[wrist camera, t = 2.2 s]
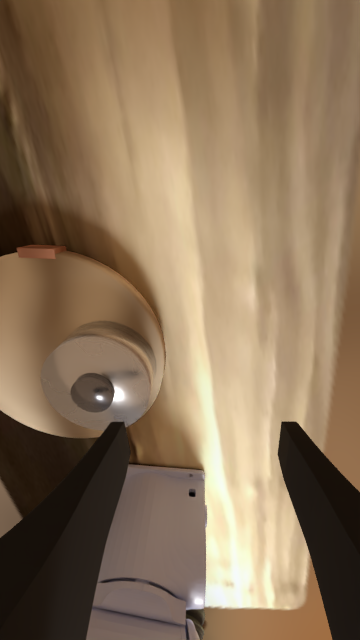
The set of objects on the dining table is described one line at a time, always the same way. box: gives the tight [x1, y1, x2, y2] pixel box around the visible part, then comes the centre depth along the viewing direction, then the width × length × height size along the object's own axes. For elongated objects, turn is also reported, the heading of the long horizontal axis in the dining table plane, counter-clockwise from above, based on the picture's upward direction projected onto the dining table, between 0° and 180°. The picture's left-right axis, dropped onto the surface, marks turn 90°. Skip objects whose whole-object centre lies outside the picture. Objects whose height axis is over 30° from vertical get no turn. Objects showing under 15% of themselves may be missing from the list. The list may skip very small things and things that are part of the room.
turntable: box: [0, 245, 166, 438], centre depth 20 cm, size 16×16×2 cm
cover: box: [41, 321, 157, 431], centre depth 17 cm, size 7×7×4 cm
